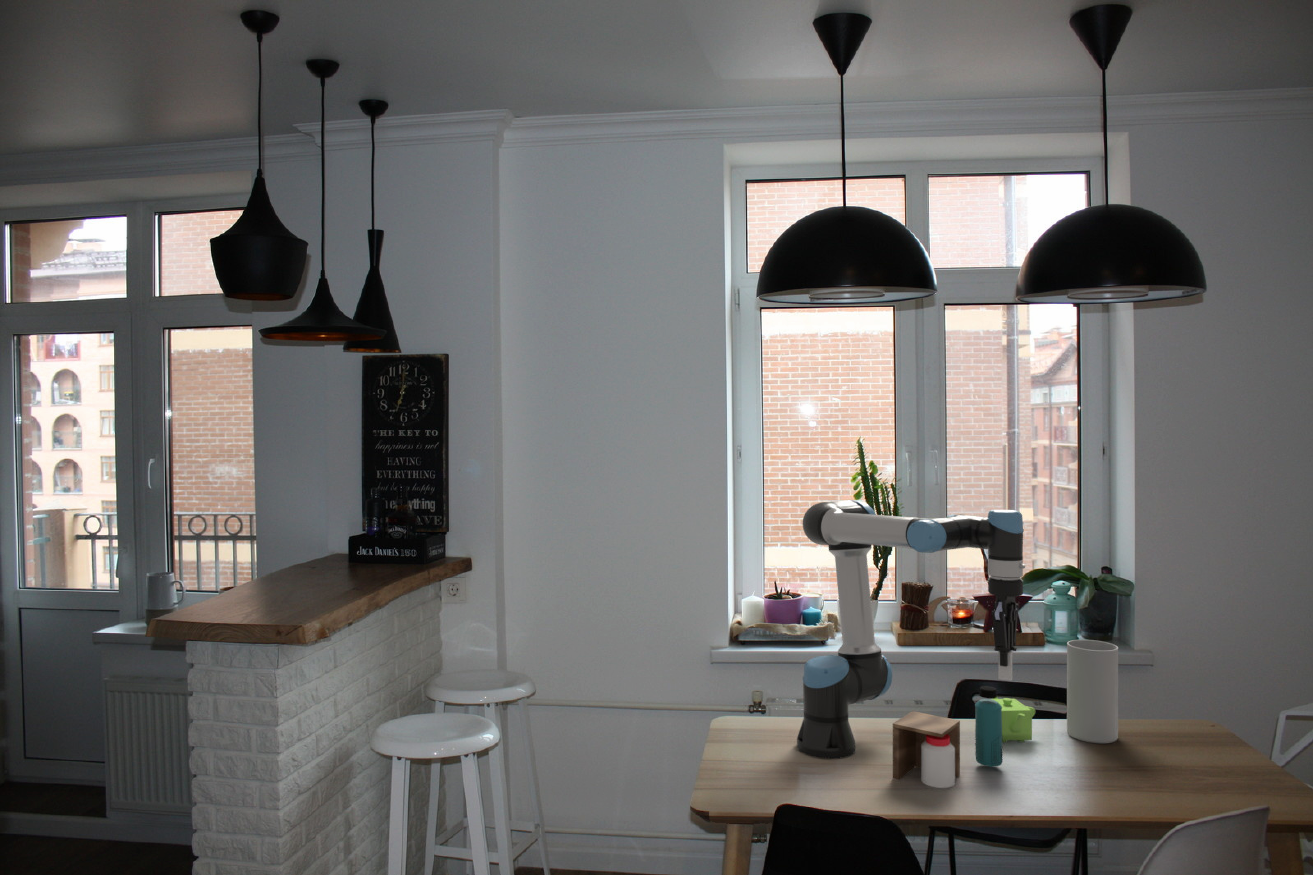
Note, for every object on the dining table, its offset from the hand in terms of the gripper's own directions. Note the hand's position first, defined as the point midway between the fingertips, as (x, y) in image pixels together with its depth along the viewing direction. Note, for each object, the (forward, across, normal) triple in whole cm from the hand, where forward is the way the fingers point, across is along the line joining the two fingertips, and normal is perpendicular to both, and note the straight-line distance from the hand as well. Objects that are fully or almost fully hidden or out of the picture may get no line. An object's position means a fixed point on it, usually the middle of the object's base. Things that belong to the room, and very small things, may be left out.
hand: (1005, 679), depth 205 cm
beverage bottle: (+27, +13, +8) cm, 31 cm away
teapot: (+27, +38, +11) cm, 48 cm away
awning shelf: (+26, -2, +18) cm, 32 cm away
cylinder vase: (+27, +53, -7) cm, 60 cm away
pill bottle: (+27, -3, +15) cm, 31 cm away
